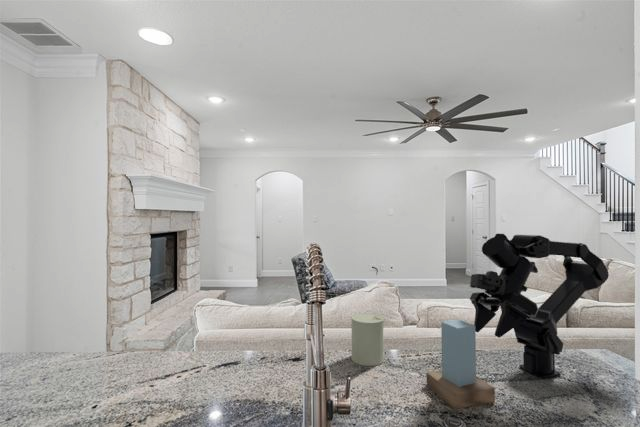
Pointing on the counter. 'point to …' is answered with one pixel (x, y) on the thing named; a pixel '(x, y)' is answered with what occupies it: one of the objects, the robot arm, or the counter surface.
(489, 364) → the counter surface
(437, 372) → the slab
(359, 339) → the can
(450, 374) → the block
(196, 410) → the counter surface
